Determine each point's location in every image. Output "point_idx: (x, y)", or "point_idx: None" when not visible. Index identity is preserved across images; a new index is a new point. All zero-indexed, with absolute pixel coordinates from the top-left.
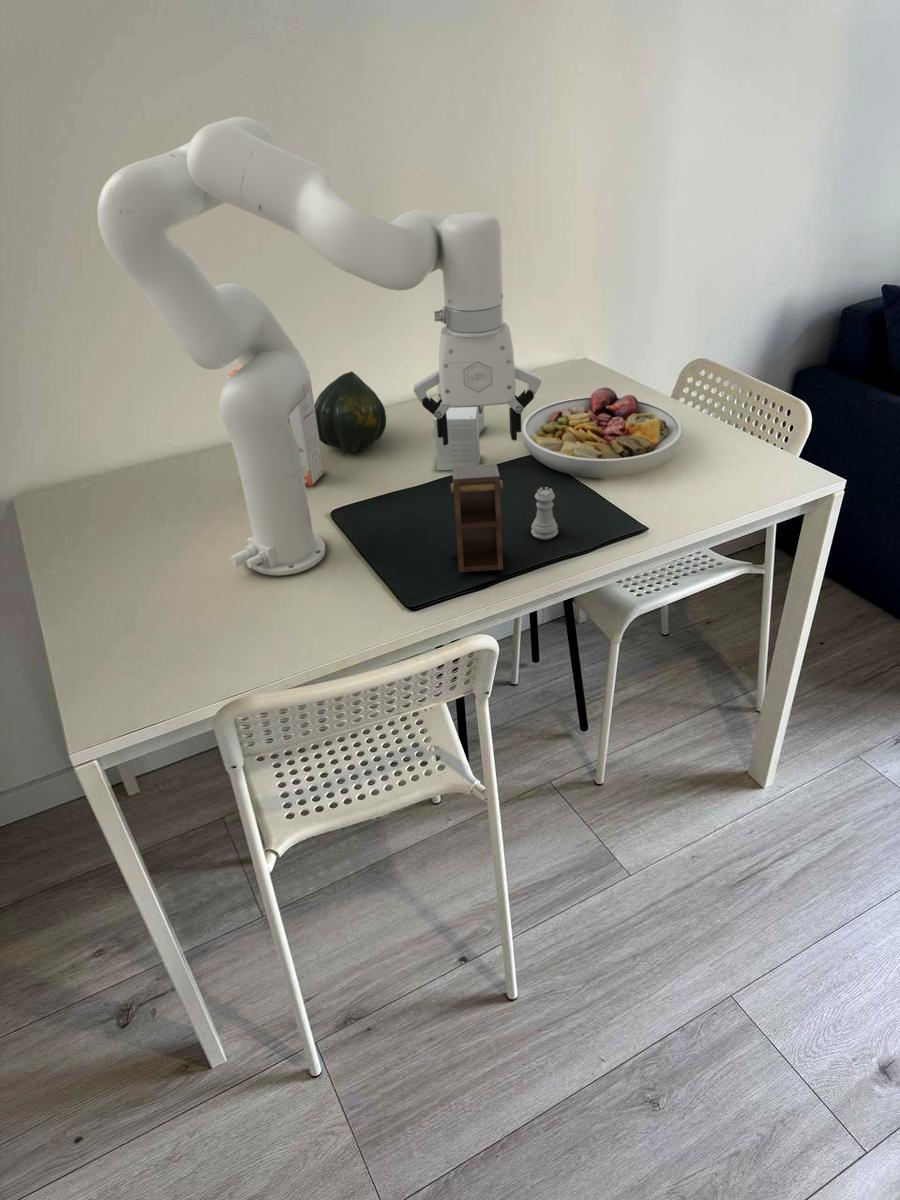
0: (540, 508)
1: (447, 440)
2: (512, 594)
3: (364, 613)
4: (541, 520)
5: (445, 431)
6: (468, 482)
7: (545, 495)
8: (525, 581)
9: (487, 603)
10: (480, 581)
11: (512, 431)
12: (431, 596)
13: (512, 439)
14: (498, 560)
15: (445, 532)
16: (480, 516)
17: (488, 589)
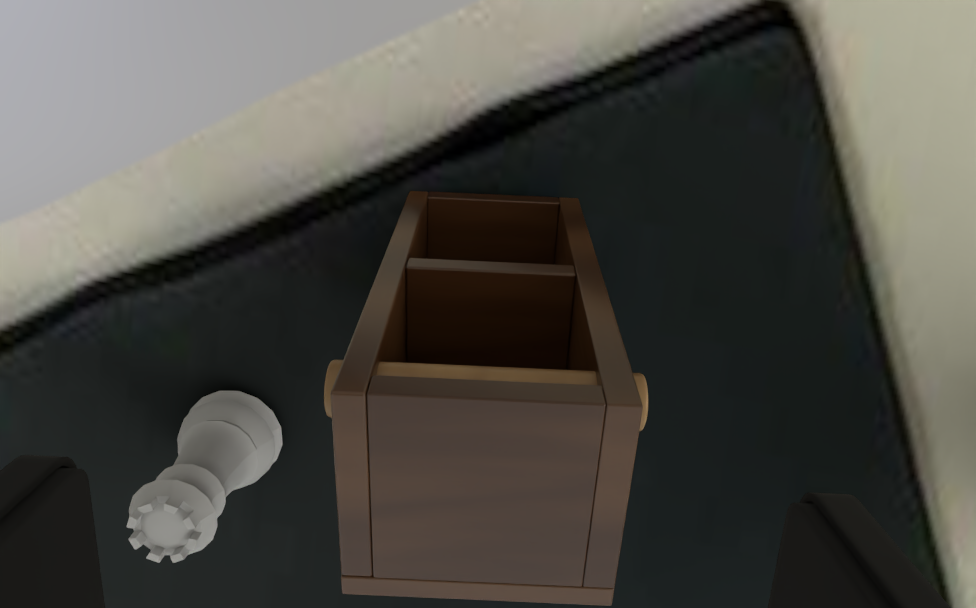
0: (210, 472)
1: (821, 523)
2: (391, 50)
3: (963, 13)
4: (225, 441)
5: (905, 598)
6: (542, 384)
7: (164, 506)
8: (334, 132)
9: (492, 3)
10: (500, 160)
11: (8, 521)
12: (694, 89)
13: (74, 470)
14: (421, 203)
15: None
16: (473, 348)
17: (477, 101)
